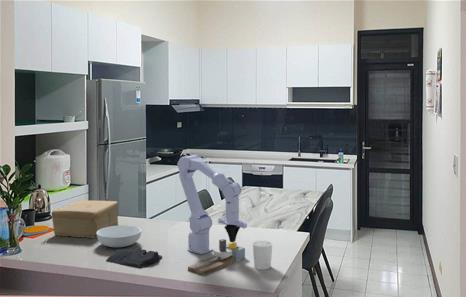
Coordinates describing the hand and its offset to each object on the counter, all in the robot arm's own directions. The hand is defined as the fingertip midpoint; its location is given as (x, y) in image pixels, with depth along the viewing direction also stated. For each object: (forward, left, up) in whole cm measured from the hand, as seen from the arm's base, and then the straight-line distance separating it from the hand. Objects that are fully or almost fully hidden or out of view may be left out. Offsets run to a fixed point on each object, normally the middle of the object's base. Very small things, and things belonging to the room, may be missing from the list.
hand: (232, 241), depth 206 cm
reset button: (0, 0, -5) cm, 5 cm away
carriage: (0, -6, -5) cm, 8 cm away
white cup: (+17, -1, -7) cm, 19 cm away
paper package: (-87, -16, -8) cm, 89 cm away
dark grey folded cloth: (-32, -29, -8) cm, 44 cm away
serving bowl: (-54, -20, -8) cm, 58 cm away
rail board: (0, -13, -7) cm, 15 cm away
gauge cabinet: (0, 0, -7) cm, 7 cm away
